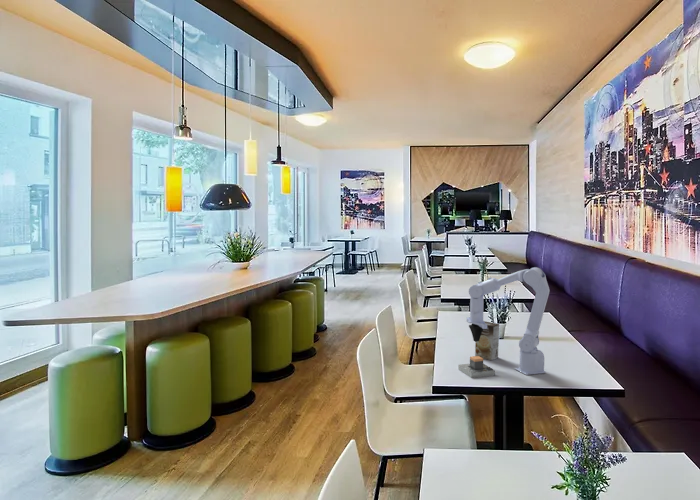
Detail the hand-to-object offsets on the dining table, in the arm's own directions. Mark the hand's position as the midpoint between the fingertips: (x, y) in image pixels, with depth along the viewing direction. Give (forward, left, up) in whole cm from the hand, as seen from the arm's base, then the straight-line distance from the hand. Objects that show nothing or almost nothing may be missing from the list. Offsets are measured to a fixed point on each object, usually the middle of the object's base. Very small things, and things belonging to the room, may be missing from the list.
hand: (476, 341), depth 215 cm
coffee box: (-9, -6, -10) cm, 15 cm away
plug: (+7, +12, -10) cm, 16 cm away
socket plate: (+7, +12, -10) cm, 17 cm away
